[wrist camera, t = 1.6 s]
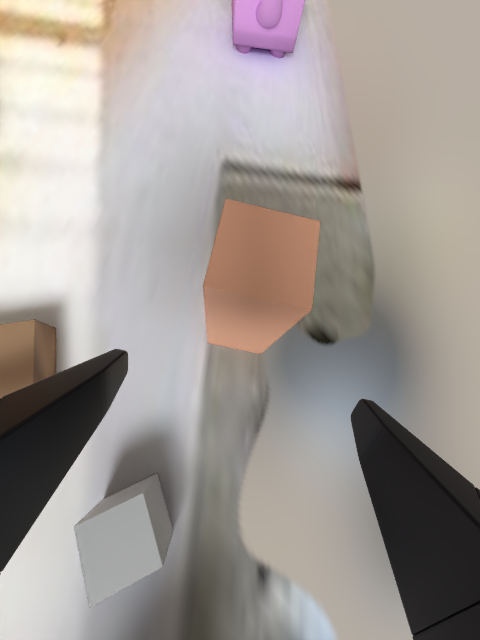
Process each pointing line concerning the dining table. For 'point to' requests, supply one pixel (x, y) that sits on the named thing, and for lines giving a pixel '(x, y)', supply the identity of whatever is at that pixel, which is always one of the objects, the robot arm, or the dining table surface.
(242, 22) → the purple boxy handled piece
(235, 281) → the terracotta block
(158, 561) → the slate grey cube
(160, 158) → the dining table surface
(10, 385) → the walnut slab
